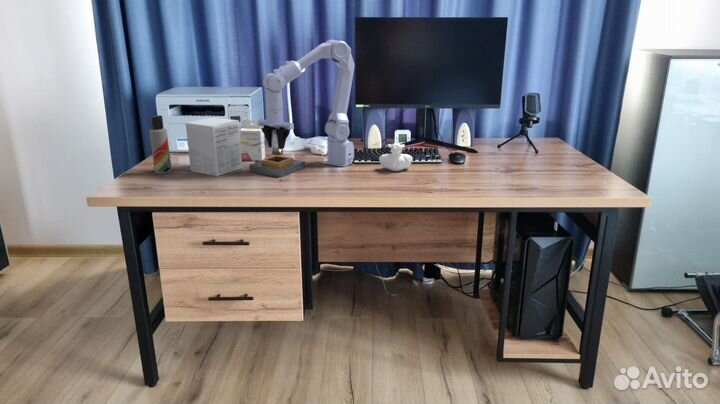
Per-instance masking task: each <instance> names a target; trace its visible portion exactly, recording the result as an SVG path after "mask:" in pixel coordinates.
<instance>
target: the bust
mask: <svg viewBox="0 0 720 404" xmlns="http://www.w3.org/2000/svg"><path fill="white" fill-rule="evenodd" d="M387 146H388V148H390V153H385V154H381V155H380V156H379V157H378V161H379V163H380V165H381V167H382V168H383V169H387V170H390V171H393V172H400V171H402V170H405V169H409V168H410V167H411V164H412V162H413V159H414V158H413V156H412V155H410V154H406V153H403V149H405V146H406V145H405V144H400V142H393V143H392V144H390V143H389V144H387Z"/></svg>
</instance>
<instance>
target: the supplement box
mask: <svg viewBox="0 0 720 404" xmlns="http://www.w3.org/2000/svg"><path fill="white" fill-rule="evenodd" d="M185 128H186V129H185V130H186V139H187V140H186V141H187V146H188V157H189V166H190V167H189V168H190V169H189V170H190V171H191V172H193V173H198V174H203V175H209V176H213V177H214V176H215V177H219V176H222V175H225V174H228V173H231V172H234V171H237V170H240V169H243V160H242V158H241V145H240V131H239V130H240V120H238V119H229V118H220V117H214V116H213V117H206V118H200V119H197V120H192V121H188V122H185Z"/></svg>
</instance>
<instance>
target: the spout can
mask: <svg viewBox="0 0 720 404" xmlns="http://www.w3.org/2000/svg"><path fill="white" fill-rule="evenodd" d="M277 129H279V128H276V129H273V130H272V131H271V155H272V156H275V155H277V156H282V155H284V148H283V149H279V145H278V137H277V134H276V131H275V130H277Z"/></svg>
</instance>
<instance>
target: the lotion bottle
mask: <svg viewBox="0 0 720 404" xmlns="http://www.w3.org/2000/svg"><path fill="white" fill-rule="evenodd" d="M163 120H164V119H163V116H162V115H161V114H159V115H154V116H151V117H150V123H151V124H150V125H151V129H149V130H148V131H149V132H148V133H149V139H150V146H151V152H152V154H151V156H152V161H153V169H154V173H155V174H158V175H161V174H162V175H163V174H169V173H171V172H172V163H171V162H172V161H171V154H170V153H171V152H170V145H169V136H168V130H167V128H165V126H164V121H163Z"/></svg>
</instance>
